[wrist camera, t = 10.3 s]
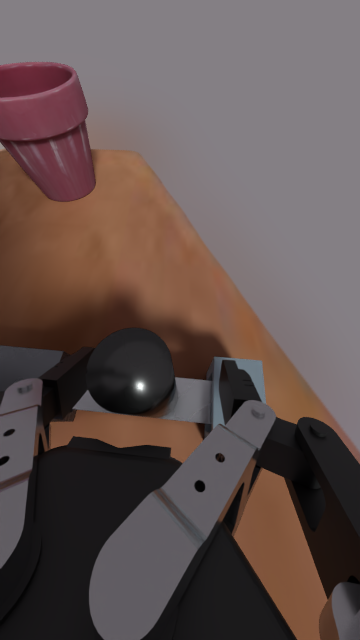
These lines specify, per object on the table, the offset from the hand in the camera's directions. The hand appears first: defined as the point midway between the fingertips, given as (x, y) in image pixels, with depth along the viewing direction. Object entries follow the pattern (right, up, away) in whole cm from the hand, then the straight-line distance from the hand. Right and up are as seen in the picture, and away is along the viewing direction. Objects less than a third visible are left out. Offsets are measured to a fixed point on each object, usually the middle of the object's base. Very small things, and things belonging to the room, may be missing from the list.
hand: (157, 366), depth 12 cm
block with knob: (-3, -4, +6) cm, 8 cm away
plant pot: (-18, +27, +23) cm, 40 cm away
